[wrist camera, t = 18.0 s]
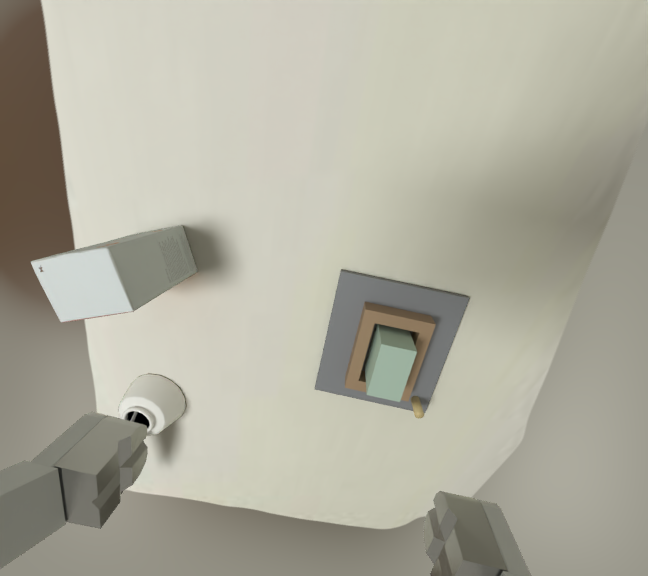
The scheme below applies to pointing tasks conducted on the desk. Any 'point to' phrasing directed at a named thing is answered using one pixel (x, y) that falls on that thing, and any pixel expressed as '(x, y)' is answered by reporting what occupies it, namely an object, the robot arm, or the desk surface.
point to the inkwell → (152, 403)
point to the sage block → (389, 362)
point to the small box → (115, 273)
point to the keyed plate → (395, 311)
